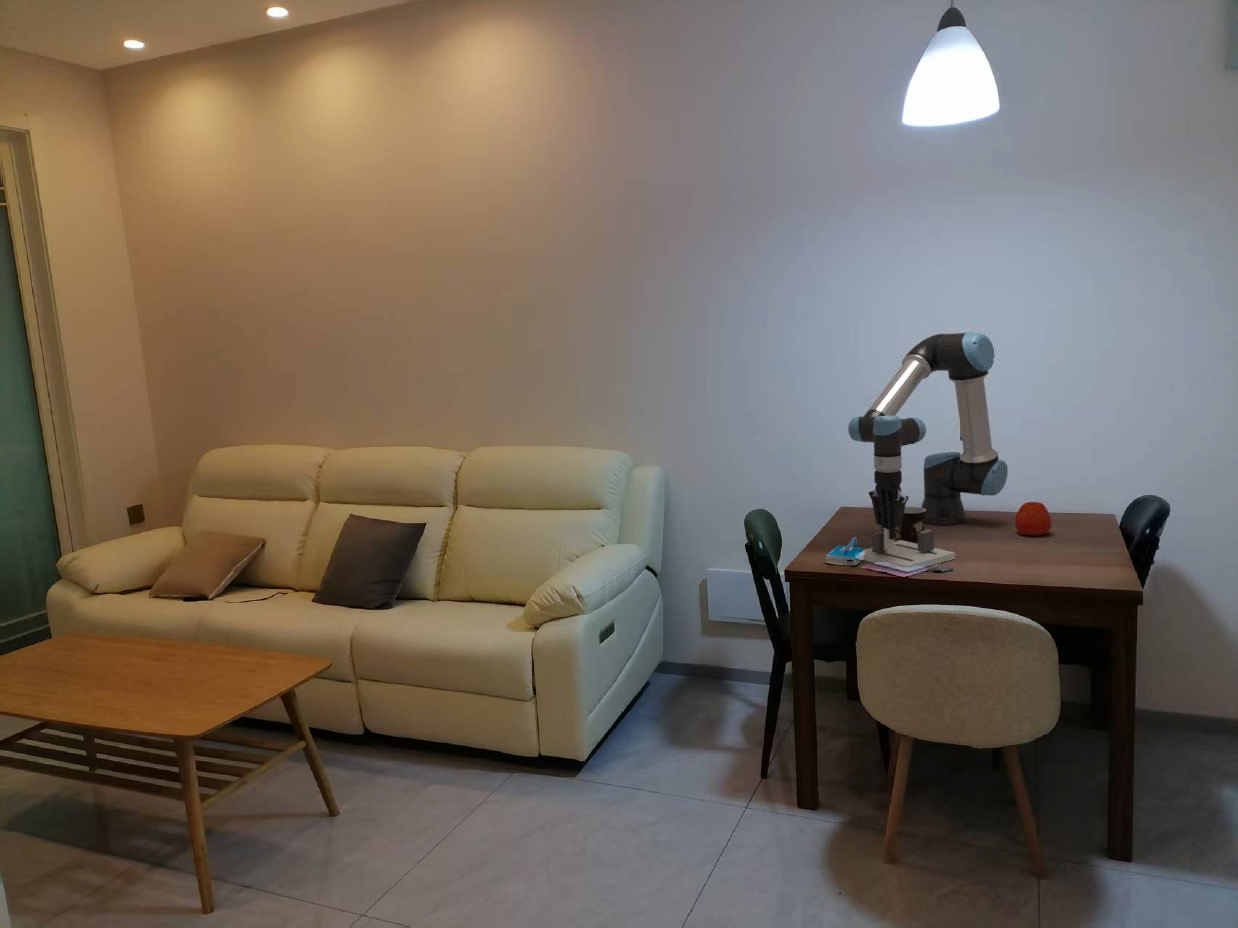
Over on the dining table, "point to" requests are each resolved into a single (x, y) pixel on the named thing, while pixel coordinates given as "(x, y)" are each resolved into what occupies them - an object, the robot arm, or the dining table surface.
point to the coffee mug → (912, 524)
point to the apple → (1033, 519)
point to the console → (909, 555)
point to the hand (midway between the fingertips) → (889, 549)
